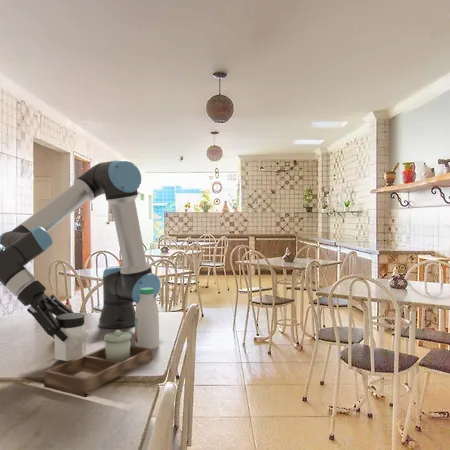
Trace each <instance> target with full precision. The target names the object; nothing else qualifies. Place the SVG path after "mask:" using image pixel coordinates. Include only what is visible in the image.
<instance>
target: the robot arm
mask: <svg viewBox="0 0 450 450" xmlns="http://www.w3.org/2000/svg"><path fill="white" fill-rule="evenodd" d="M140 171H141V170H140V169H139V167H138V166H137V165H136V164H134V162H132V161H130V160H127V159H117V160H112V161H106V162H105V161H104V162H99V163H97V164H95V165H93V166H91V167H90V168H89V169H88V170H86V171H85V172H83V173H82V174H81V175H80V176H78V177H76V179H74V180H73V184H72V185H70V187H68V188H67V189H66V190H64V191H62V192H61V193H60V194H59V195H57V196H56V197H55V198H54V199H52V200H50V202H48V203H46V204H45V205H44V206H43V207H41V208H40V209H39V210H38V211H36V212H35V213H33V215H31V216H29V217H28V218H27V219H26V220H24V221H23V222H22V223H21V224H18V225H17V226H15V228H13V229H12V230H10V231H6V232H3V233H1V235H0V283H1V284H2V286H4V287H5V288H6V289H7V290H8V292H9V293H11V294H12V295H13V296H14V297H16V298H17V300H18V301H19V302H20V303H21V304H22V305H23V306H24V307H27V309H26V311H27V312H28V313H29V314H30V315H32V317H33V318H34V319H35V320H36V322H37V323H38V324H39V325H40V327H42V328H41V329H43V331H44V332H45V333H46V334H47V335H48V336H50V337H53V338H54V335H56V336H57V337H58V338H59V339H60V340H61V341H62V342H63V343H64V344H65V345H66V346H67V347H68V348H69V349H70V350H71V351H72V350H73V349H74V348H75V347H76V346H77V345H78V344H79V343H78V342H77V341H76V340H75V339H74V338H73V337H72V336H71V335H70V334H69V333H68V332H67V331H66V330H65V329H64V328H63V327H62V328H61V329H60V326H59V324H58V323H57V321H56V320H55V317H56V316H58V315H61V314H66V313H75V312H74V311H73V310H71V308H69V307H68V306H67V305H66V304H64V303H63V302H61V300H60V299H58V297H56V295H54V294H50V296H49V295H47V294H45V291H46V290H47V288H46V287H45V285H43V283H41V282H40V281H39V280H37V278H36V276H35V275H33V273H32V272H31V271H29V269H27V267H25V266H26V265H27V264H29V263H30V262H32V261H33V260H35V259H36V258H37V257H39V256H40V255H41V254H42V253H44V252H46V250H48V249H49V248H50V247H51V246H52V245H53V238H52V236H51V235H50V233H49V231H51V230H52V229H53V228H54V227H56V226H57V225H58V224H60V223H61V222H62V221H64V220H65V219H66V218H67V217H68V216H70V215H71V214H72V213H73V212H75V211H76V210H77V209H78V208H80V207H82V206H83V205H84V204H85V203H86V202H87V201H89V202H92V201H93V200H95V198H97V197H100V196H101V195H104V197H105V200H106V202H108V203H110V204H111V209H112V214H113V219H114V225H115V230H116V235H117V241H118V245H119V251H120V257H121V261H122V266H119V267H118V266H117V267H109V268H105V269H104V270H103V272H102V273H103V274H102V283H103V284H102V289H103V291H102V294H103V297H102V299H103V301H102V302H103V305H102V310H101V312H100V315H99V317H98V318H99V319H98V326H99V327H101V328H104V329H125V328H130V327H135V313H136V309H135V306H134V303H136V304H137V305H138V304H139V301H140V289H141V288H153V289H154V295H153V299H154V300H155V299H157V296H158V294H159V293H160V290H161V281H160V278H159V277H158V276H157V275H156V274H155V273H153V268H152V265H151V263H149V262H147V260H146V254H145V248H144V247H145V246H144V243H143V237H142V236H143V235H142V231H141V227H140V221H139V216H138V211H137V205H136V199H137V198H138V196H139V191H138V189H139V188H140V186H141V184H142V174H141V172H140ZM89 335H91V333H90V331H89V330H88V329H86V339H87V338H88V337H89Z"/></svg>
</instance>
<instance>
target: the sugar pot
mask: <svg viewBox="0 0 450 450" xmlns="http://www.w3.org/2000/svg"><path fill="white" fill-rule="evenodd" d="M103 339H104V342H105V344H104V345H105V346H104V347H105V353H106V359H107V360H113V361H118V362H122V361H124V360H126V359H128V358H130V345H131V339H132V333H130V332H128V331H121V330H120V329H116V330H115V331H114V332H109V333H107V334H105V335H104V336H103Z"/></svg>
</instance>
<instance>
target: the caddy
mask: <svg viewBox="0 0 450 450" xmlns="http://www.w3.org/2000/svg"><path fill="white" fill-rule="evenodd" d="M151 360H153V349H149V348H143V347H138V346H135V345H133V344H130V358H128V359H126V360H124V361H122V362H118V361H113V360H107V359H106V353H105V346H104V347H101V348H99V349H96V350H94V351H91V352H88V353H86V354H85V355H84V356H81V357H79V358H76V359H74V360H70V361H65V362H64V363H60V364H59V365H56V366H54V367H51V368H48V369H46V370H44V371H43V381H44V382H43V388H48V389H51V390H56V391H59V392H64V393H67V394H71V395H74V396H78V397H79V396H80V397H82V398H86V397H88V396H90V391H92V390H94V389H96V388H98V387H100V386H102V385H105V384H106V383H108V382H111V381H112V380H114V379H116V378H118V377H120V376H122V375H124V374H126V373H128V372H130V371H131V370H134V369H136V368H137V367H139V366H141V365H143V364H145V363H147V362H149V361H151ZM88 392H89V393H88Z"/></svg>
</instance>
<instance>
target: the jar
mask: <svg viewBox="0 0 450 450" xmlns="http://www.w3.org/2000/svg"><path fill="white" fill-rule="evenodd" d="M54 318H55V320H56V321H57V323H58V324H59V326H60V329H61V328H62V327H63V328H64V329H65V330H66V331H67V332H68V333H69V334H70V335H71V336H72V337H73V338H74V339H75V340H76V341H77V342H78V343H79V344H78V345H77V346H76V347H75V348H74V349H73V350H72V351H71V350H70V349H69V348H68V347H67V346H66V345H65V344H64V343H63V342H62V341H61V340H60V339H59V338H58V337H57V336H56V335H54V336H53V338H54V359H55V360H58V361H63V362H69V361H71V360H74V359H76V358H79V357H81V356H84V355H86V354H87V338H86V330H87V329H86V328H87V325H86V321H85V314H84V313H82V312H74V313H66V314H61V315H58V316H56V315H55V316H54Z"/></svg>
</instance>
